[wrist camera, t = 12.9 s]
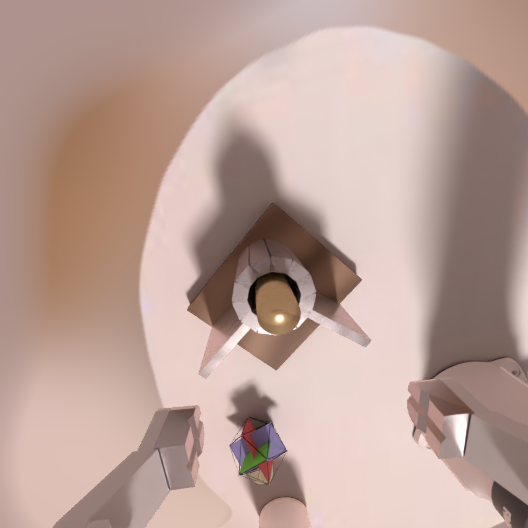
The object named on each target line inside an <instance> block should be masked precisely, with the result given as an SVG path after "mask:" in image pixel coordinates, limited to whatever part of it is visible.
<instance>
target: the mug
mask: <svg viewBox="0 0 528 528" xmlns="http://www.w3.org/2000/svg"><path fill="white" fill-rule="evenodd" d="M259 528H311V525H310V520H309V515H308V512H307V509H306V507H305V506H304V504H303V503H302V502H300V501H299V500H297V499H295V498H290V497H281V498H277V499H274V500H272V501H270V502H269V503H267V504H266V505H265V506H264V508H263V509H262V511H261V513H260V519H259Z"/></svg>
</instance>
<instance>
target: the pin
mask: <svg viewBox="0 0 528 528" xmlns="http://www.w3.org/2000/svg"><path fill="white" fill-rule="evenodd" d="M254 282H255V296H256V310H257V320H258V323H259V325H260V326H261V328H262V329H263V330H265V331H266V332H268V333H270V334H274V335H282V334H286V333H288V332H290V331H292V330H293V329H294V328H295V327H296V326H297V325H298V323H299V321H300V318H301V310H300V307H299V305H298V302H297V300H296V298H295V296H294V294H293V292H292V290H291V288H290V286H289V283H288V281H287V279H286V277H285V275H284V273H278V272H270V273H267V274H264V275H262V276H259V277H258V278H257V279H256V280H255V281H254Z"/></svg>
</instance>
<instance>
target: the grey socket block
mask: <svg viewBox="0 0 528 528" xmlns="http://www.w3.org/2000/svg"><path fill="white" fill-rule="evenodd" d="M270 272H278V273H284V275H285V277H286V279H287V281H288V283H289V286H290V288H291V290H292V292H293V294H294V296H295V298H296V300H297V302H298V305H299V307H300V310H301V318H300V321H299V323H298V325H297V327H299V326H300V325H301V324H302V323H303V322H304V321H305V320H306V319H307V318H309V319H311V320H313V321H315V322H317V323H319V324H321V325H323V326H325V327H327V328H329V329H331V330H333V331H335V332H337V333H339V334H340V335H342V336H344V337H346V338H348V339H350V340H352V341H354V342H356V343H358V344H360V345H362V346H364V347H367V345H368V344H369V343H370V341H371V340H370V339H369V337H368V336H367V335H366V334H365V333H364V332H363V330H362V329H361V328H360V327H359V326H358V325H357V323H356V322H355V321H354V320H353V319H352V318H351V317H350V315H349V314H348V313H347V312H346V311H345V310H344V308H343V307H342V306H341V305H340V304H339V303H338V301H336V300H334V299H332V298H330V297H328V296H327V295H325V294H323V293H321V292H319V291H317V290H315V287H314V284H313V281H312V278H311V275H310V273H309V272H308V271H307V269H306V268H305V267H304V266H303V264H302V263H301V262H300V261H299V260H298V258H297V257H296V256H295V255H294V253H293V252H292V251H291V250H290V249H289V248H288V247H287V246H285V245H284V244H283V243H282V242H281V241H279V240H274V239H268V238H264V239H263V238H262V239H259V240H257V241H254V242H251V243H250V245H249V244H248V245H247V247H246V248H245V249H244V250H243V251H242V253H241V254H240V256H239V260H238V265H237V271H236V277H235V282H234V289H233V296H232V303H231V304H230V306H229V307H228V308H227V309H226V310H225V311H224V313H223V314H222V315H221V316H220V317H219V319H218V320H217V321H216V322H215V323H214V324H213V326H212V329H211V333H210V336H209V340H208V343H207V347H206V350H205V353H204V357H203V360H202V364H201V367H200V371H199V375H201V376H202V377H204V378H207V377H208V376H209V375H210V374H211V372H212V371H213V370H214V369H215V368H216V367H217V366H218V365H219V363H220V362H221V361H222V360H223V359H224V358H225V357H226V356H227V354H228V353H229V352H230V351H231V350H232V349H233V348H234V346H235V345H236V344H237V343H238V342H239V341H240V340H241V339H242V337H243V336H244V335H245V334H246V333H247V332H248V331H249V330H250V329H252V330H253V331H255V332H257V331H258V333H262V334H270V333H268V332H266V331H265V330H263V329H262V328H261V326H260V325H259V323H258V320H257V310H256V296H255V282H254V281H255V280H256V279H257V278H258V277H259V276H262V275H264V274H267V273H270ZM294 329H297V328H296V327H295V328H294ZM294 329H293V330H294ZM270 335H274V334H270Z"/></svg>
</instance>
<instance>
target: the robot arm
mask: <svg viewBox="0 0 528 528" xmlns="http://www.w3.org/2000/svg"><path fill="white" fill-rule="evenodd" d="M408 391H409V392H410V394H411V396H410V397H409V399H408V400H407V408H408V412H409V416H410V418H411V420H412V422H413V423H414V425H415V426H416V430H415V433H414V441H415V442H416V443H417V444H418V446H419V447H421V448H423V449H426V450H428V451H431V452H433V453H435V454H436V455H437V457H438V458H439V459H442V461H443V462H444V463H445V464H446V466H447V467H448V468H449V469H450V471H451V472H452V473H453V474H454V476H455V477H456V478H457V479H458V481H459V482H460V483H461V484H462V486H463V487H464V488H465V489H466V490H467V491H468V492H469V493H470V494H475V495H476V496H478V497H480V498H484V499H486V500H489V501H491V502H492V503H493V505H494V507H495V508H496V510H497V511H498V512H499V513H500V515H501V516H502V517H503V518H504V520H505V522H506V523H507V525H508V526H509V527H510V528H528V379H527V377H526V376H525V374H524V372H523V371H522V369H521V367H520V366H519V364H518V363H517V362H515V361H514V360H513V359H511V358H502V359H498V360H495V361H492V362H466V363H461V364H458V365H455V366H453V367H450V368H448V369H446V370H444V371H443V372H441V373H440V374H438V375H437V376H436V377H435V378H433V379H430V380H422V381H413V382H410V383H409V386H408ZM200 415H201V412H200V408H199V406H198V405H196V406H184V407H172V408H164V409H158V410H157V411H156V412H155V414H154V417H153V419H152V421H151V423H150V425H149V427H148V429H147V432H146V434H145V436H144V438H143V440H142V443H141V444H140V446H139V449H138V451H136V452H132V453H131V454H130V455H129V456H128V457H127V458H126V459H125V460H124V461H123V462H121V463H120V464H119V465H118V466H117V467H116V468H115V469H114V470H113V471H112V472H111V473H110V474H109V475H107V476H106V477H105V478H104V479H103V480H102V481H101V482H100V483H99V484H98V485H97V486H96V487H94V488H93V489H92V490H91V491H90V492H89V493H88V494H87V495H86V496H85V497H84V498H83V499H82V500H80V501H79V502H78V503H77V504H76V505H75V506H74V507H73V508H72V509H71V510H70V511H68V512H67V513H66V514H65V515H64V516H63V517H62V518H61V519H60V520H59V521H58V522H57V523H56V524H55V525H54V527H53V528H145V527H146V525H147V524H148V522H149V521H150V520H151V518H152V517H153V515H154V514H155V512H156V511H157V509H158V508H159V507H160V505H161V504H162V502H163V501H164V499H165V498H166V497H167V495H168V494H169V490H176V489H182V488H189V487H195V483H196V479H197V474H198V469H199V462H198V457H199V455H200V454H201V453H202V450H203V445H204V426H203V422H201V421H200V420H199V419H200Z"/></svg>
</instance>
